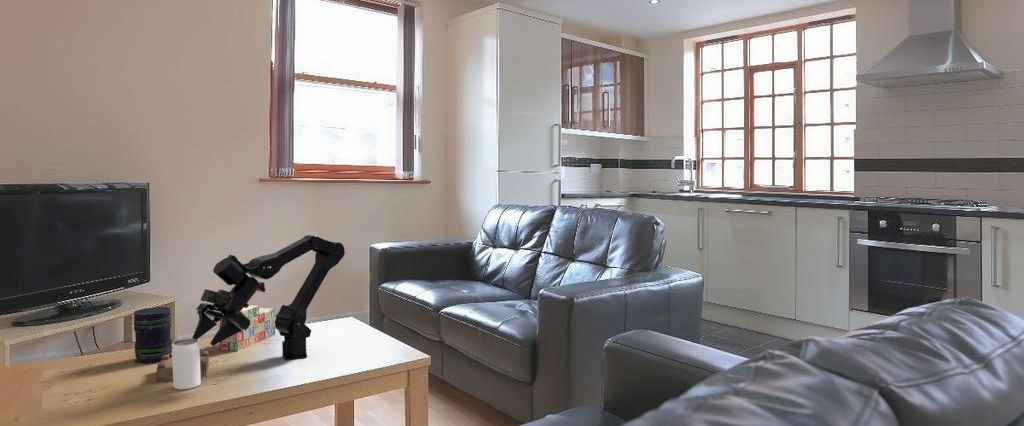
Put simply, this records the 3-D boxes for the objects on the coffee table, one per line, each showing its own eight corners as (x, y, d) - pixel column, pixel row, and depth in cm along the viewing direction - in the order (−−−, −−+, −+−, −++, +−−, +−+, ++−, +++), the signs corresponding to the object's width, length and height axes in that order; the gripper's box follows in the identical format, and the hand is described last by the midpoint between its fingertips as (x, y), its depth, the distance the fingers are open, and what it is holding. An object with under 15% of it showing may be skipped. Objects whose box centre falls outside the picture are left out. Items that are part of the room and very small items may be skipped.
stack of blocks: (259, 333, 220) (258, 299, 219) (275, 334, 218) (274, 299, 218) (220, 350, 199) (218, 312, 198) (237, 351, 198) (236, 313, 197)
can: (179, 382, 169) (178, 338, 168) (204, 381, 169) (203, 338, 168) (168, 390, 162) (167, 345, 161) (194, 390, 163) (193, 344, 162)
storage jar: (175, 353, 195) (173, 306, 194) (169, 362, 186) (167, 313, 185) (139, 356, 192) (137, 308, 191) (131, 365, 183) (129, 315, 182)
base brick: (209, 365, 183) (208, 350, 183) (206, 376, 174) (205, 360, 173) (162, 370, 178) (162, 355, 178) (157, 381, 169) (156, 365, 169)
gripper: (202, 274, 177) (163, 320, 169) (239, 281, 166) (199, 330, 158) (229, 297, 184) (192, 342, 176) (266, 305, 173) (229, 354, 165)
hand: (202, 342), depth 169 cm, fingers open, 9 cm apart
